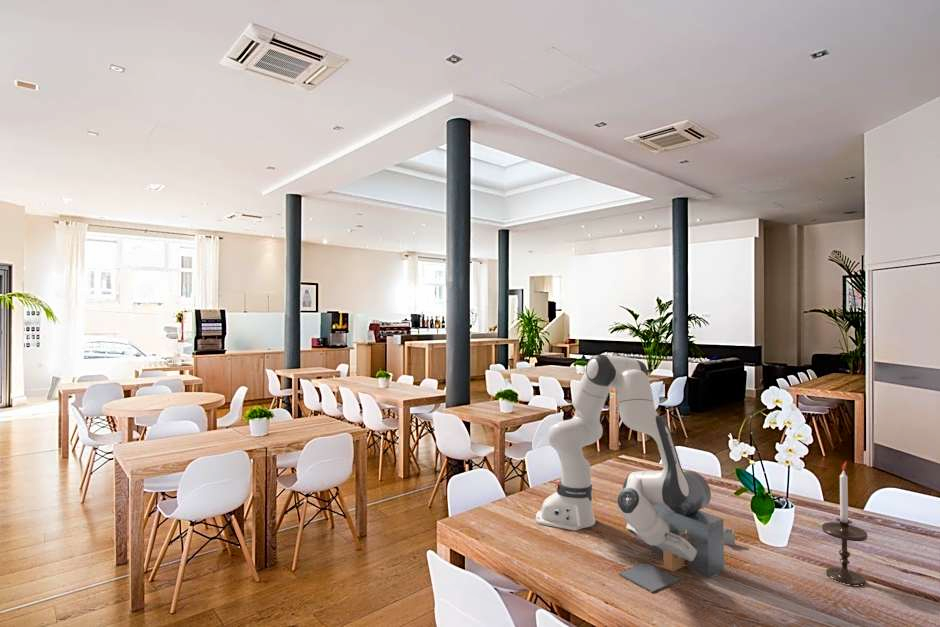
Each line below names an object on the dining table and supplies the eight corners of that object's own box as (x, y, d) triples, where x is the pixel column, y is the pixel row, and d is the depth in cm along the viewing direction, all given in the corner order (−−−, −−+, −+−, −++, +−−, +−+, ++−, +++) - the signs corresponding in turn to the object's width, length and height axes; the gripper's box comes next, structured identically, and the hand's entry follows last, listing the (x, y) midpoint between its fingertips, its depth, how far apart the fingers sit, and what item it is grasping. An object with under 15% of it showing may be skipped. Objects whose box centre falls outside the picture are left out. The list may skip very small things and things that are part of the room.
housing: (708, 578, 151) (707, 484, 151) (651, 552, 168) (651, 467, 168) (723, 571, 156) (722, 479, 156) (667, 546, 172) (666, 463, 173)
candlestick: (877, 584, 147) (876, 463, 147) (849, 590, 144) (848, 467, 144) (840, 567, 158) (839, 454, 158) (813, 572, 155) (812, 457, 155)
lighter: (734, 543, 174) (733, 520, 174) (735, 545, 173) (734, 522, 173) (711, 540, 177) (711, 517, 177) (712, 542, 175) (711, 519, 175)
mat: (652, 593, 144) (652, 591, 144) (619, 575, 154) (619, 573, 154) (678, 580, 150) (678, 579, 150) (645, 564, 160) (645, 562, 160)
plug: (672, 571, 155) (671, 545, 156) (663, 567, 158) (663, 541, 158) (695, 561, 162) (695, 536, 162) (687, 557, 164) (686, 532, 165)
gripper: (688, 531, 146) (708, 557, 151) (630, 509, 163) (650, 532, 168) (678, 551, 143) (699, 576, 148) (621, 526, 160) (642, 549, 166)
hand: (673, 552), depth 158 cm, fingers closed on plug, 3 cm apart
